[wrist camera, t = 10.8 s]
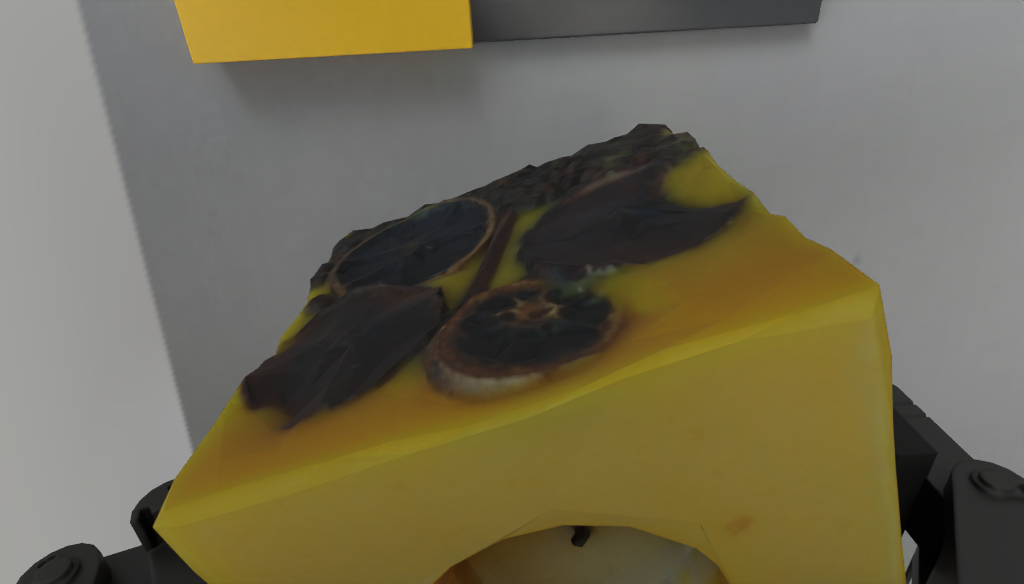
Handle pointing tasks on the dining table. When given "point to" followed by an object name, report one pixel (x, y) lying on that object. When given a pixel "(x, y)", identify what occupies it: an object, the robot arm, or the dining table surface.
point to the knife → (447, 23)
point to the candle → (563, 397)
